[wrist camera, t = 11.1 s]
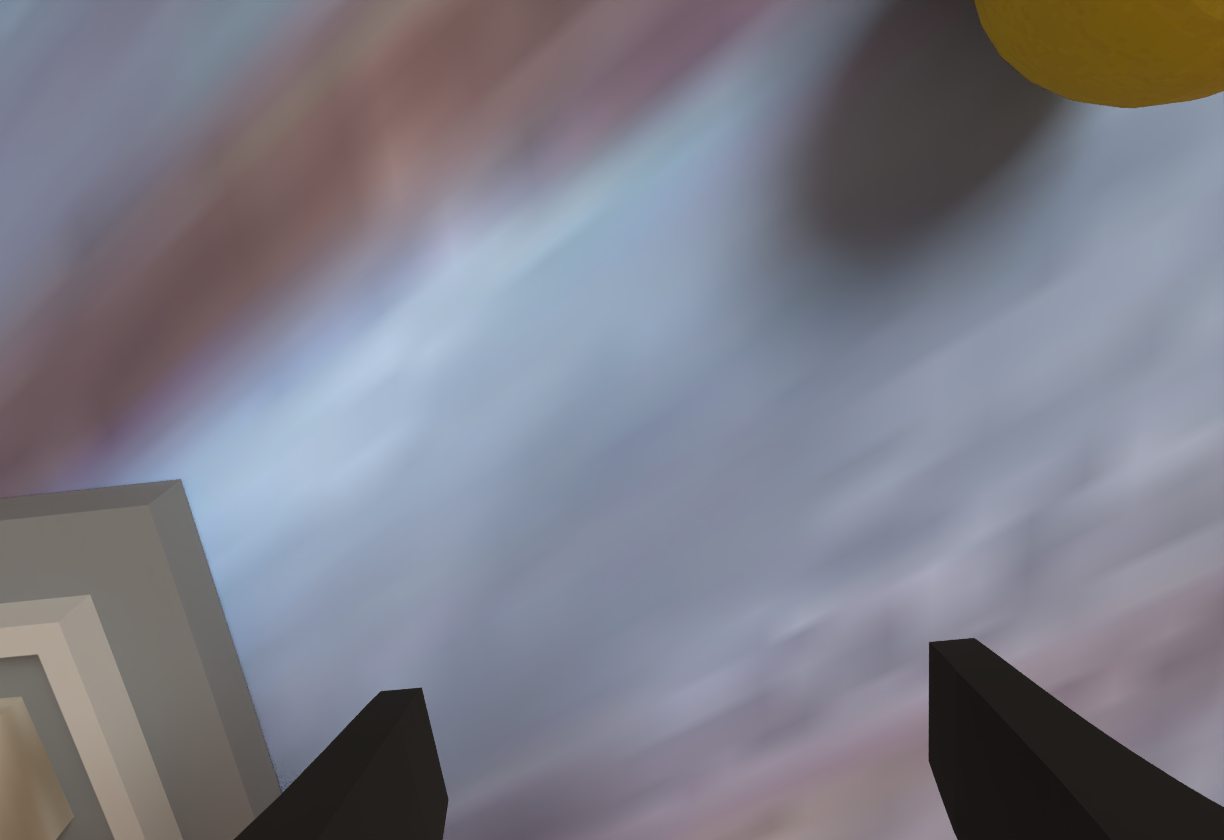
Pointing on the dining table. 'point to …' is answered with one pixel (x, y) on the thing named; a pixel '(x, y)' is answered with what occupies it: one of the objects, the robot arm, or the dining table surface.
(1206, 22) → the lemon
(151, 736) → the base
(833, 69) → the dining table surface
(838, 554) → the dining table surface
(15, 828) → the block
